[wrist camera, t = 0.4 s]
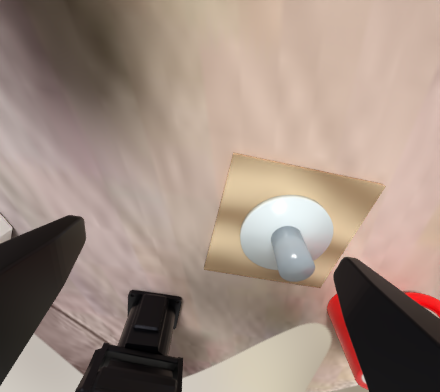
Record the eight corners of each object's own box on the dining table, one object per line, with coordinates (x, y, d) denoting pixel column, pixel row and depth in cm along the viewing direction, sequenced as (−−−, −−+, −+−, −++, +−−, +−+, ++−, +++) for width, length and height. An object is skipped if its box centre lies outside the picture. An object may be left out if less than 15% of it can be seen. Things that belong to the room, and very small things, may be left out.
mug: (432, 296, 30) (494, 367, 23) (341, 329, 34) (370, 398, 27) (416, 260, 27) (482, 329, 20) (316, 300, 31) (344, 370, 24)
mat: (318, 284, 29) (320, 287, 28) (204, 266, 28) (204, 269, 27) (382, 183, 22) (385, 186, 21) (233, 152, 21) (233, 154, 20)
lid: (308, 270, 27) (324, 309, 23) (230, 257, 26) (232, 295, 22) (346, 204, 22) (374, 238, 18) (254, 186, 22) (261, 217, 17)
